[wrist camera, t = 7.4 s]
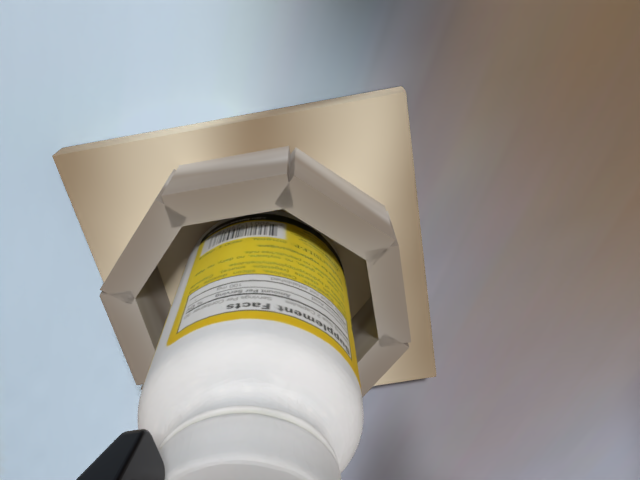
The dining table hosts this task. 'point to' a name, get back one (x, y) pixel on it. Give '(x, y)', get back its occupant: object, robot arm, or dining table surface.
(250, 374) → the supplement bottle
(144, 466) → the robot arm
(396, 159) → the octagonal ring stand
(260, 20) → the dining table surface
